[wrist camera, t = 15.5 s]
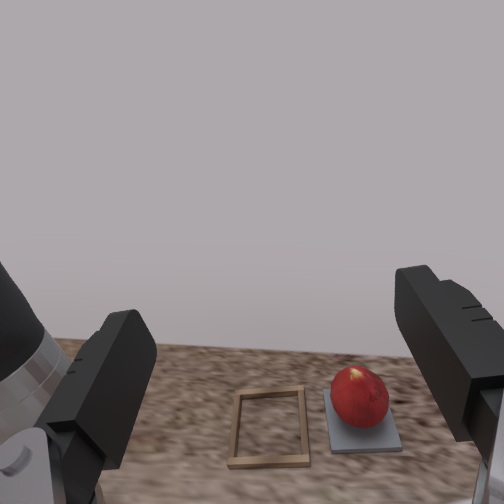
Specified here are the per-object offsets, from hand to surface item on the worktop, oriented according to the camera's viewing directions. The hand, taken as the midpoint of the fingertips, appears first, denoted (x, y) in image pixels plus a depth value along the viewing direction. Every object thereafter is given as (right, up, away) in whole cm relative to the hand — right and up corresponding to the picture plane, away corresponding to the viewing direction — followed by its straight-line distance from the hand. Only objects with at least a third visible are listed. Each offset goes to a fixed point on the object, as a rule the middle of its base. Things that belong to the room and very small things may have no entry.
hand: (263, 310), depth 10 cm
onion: (+12, -17, +25) cm, 32 cm away
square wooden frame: (+2, -19, +27) cm, 33 cm away
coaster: (+12, -17, +26) cm, 33 cm away
